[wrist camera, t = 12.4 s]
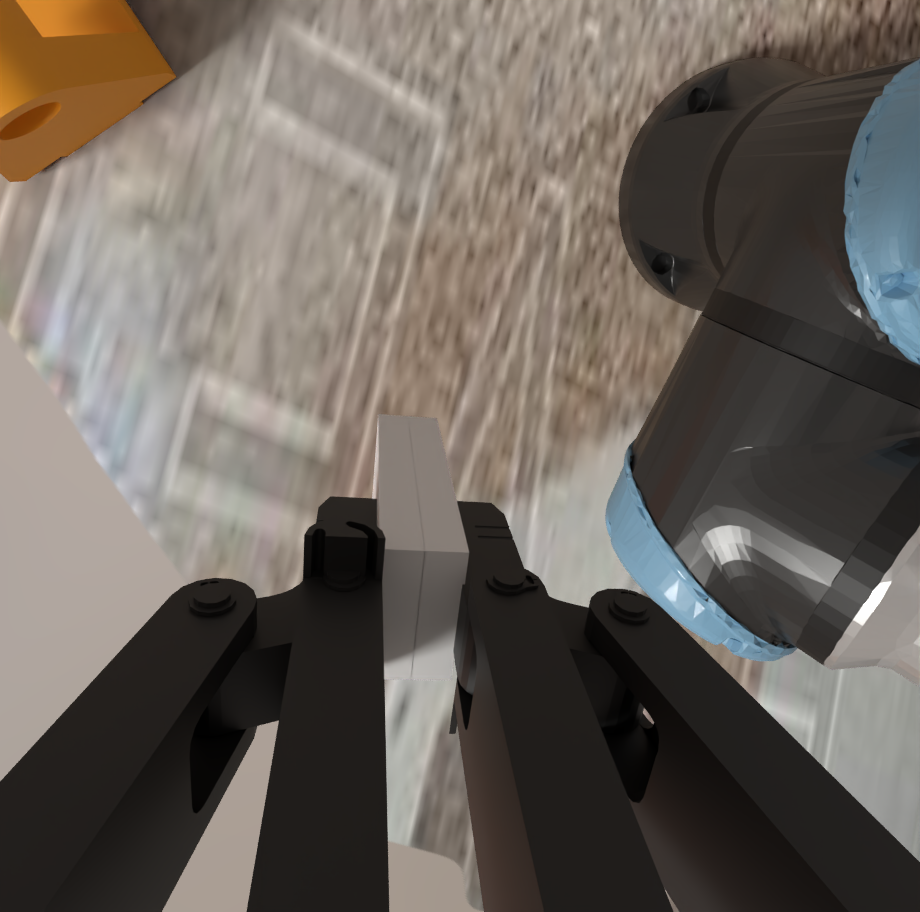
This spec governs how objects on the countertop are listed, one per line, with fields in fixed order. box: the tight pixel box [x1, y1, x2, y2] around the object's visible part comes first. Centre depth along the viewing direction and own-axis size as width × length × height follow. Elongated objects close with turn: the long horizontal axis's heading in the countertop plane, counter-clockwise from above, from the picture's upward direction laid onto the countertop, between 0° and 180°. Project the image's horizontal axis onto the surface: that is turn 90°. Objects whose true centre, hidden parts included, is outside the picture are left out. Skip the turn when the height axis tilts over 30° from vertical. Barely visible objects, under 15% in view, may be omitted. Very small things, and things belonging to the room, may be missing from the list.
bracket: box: [0, 0, 176, 182], centre depth 32 cm, size 11×7×12 cm, turn 120°
